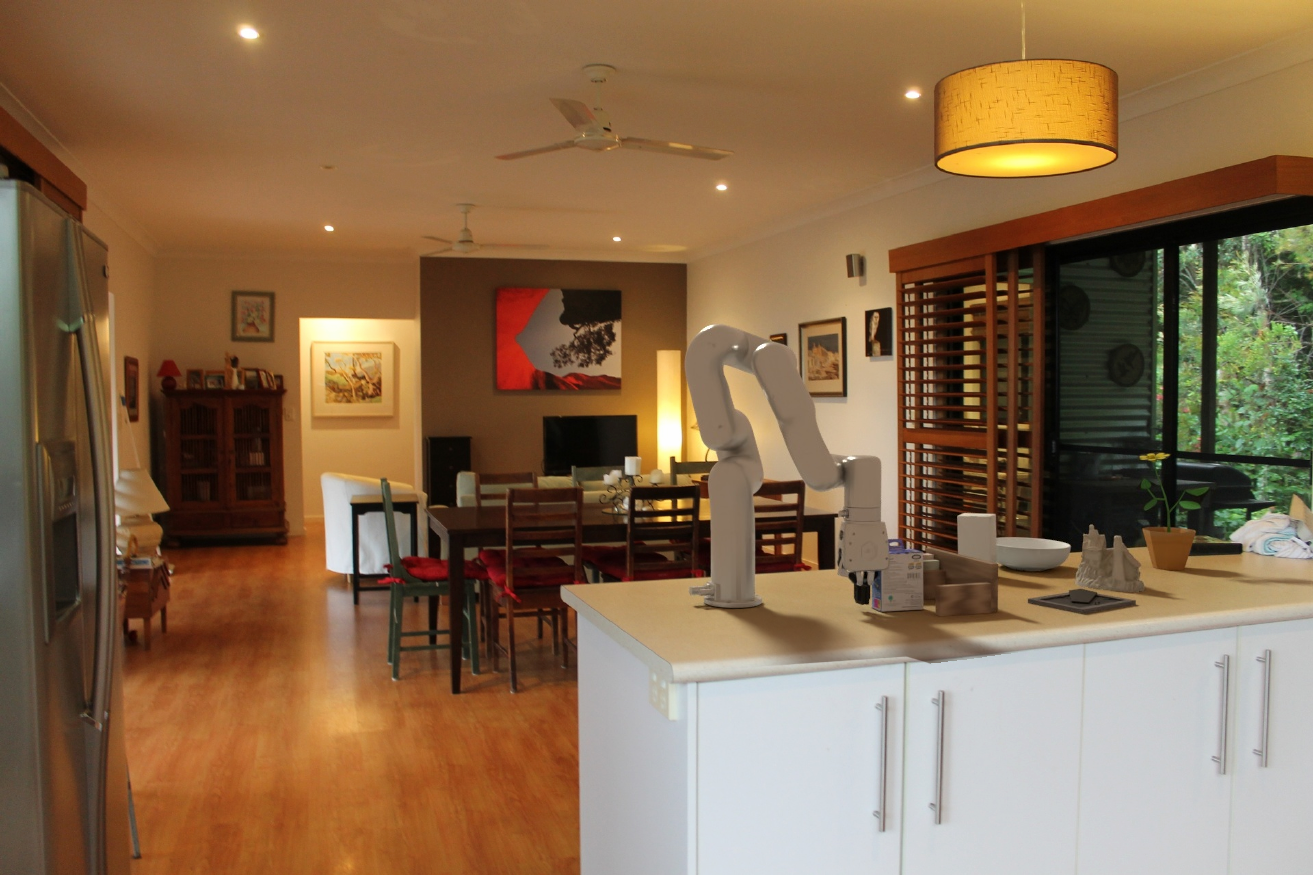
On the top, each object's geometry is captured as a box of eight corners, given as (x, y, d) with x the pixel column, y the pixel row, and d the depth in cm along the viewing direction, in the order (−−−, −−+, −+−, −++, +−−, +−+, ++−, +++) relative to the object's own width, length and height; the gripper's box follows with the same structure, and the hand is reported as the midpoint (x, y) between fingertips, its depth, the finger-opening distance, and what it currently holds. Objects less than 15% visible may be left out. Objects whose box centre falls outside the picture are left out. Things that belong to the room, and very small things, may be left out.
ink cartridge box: (912, 605, 210) (912, 537, 210) (925, 610, 205) (925, 540, 205) (869, 607, 208) (869, 539, 208) (881, 612, 203) (881, 542, 202)
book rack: (939, 616, 199) (940, 567, 199) (878, 594, 222) (879, 550, 222) (997, 612, 203) (998, 563, 203) (931, 590, 226) (932, 547, 226)
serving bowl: (1047, 578, 243) (1047, 550, 243) (970, 568, 259) (970, 542, 258) (1084, 568, 257) (1085, 542, 257) (1009, 559, 273) (1009, 534, 272)
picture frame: (1080, 597, 222) (1027, 605, 212) (1080, 588, 222) (1027, 596, 212) (1135, 607, 210) (1082, 617, 201) (1135, 598, 210) (1082, 607, 201)
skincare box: (997, 576, 246) (998, 513, 246) (991, 580, 240) (991, 516, 240) (963, 573, 251) (964, 512, 250) (956, 576, 245) (956, 514, 244)
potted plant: (1115, 563, 265) (1116, 452, 264) (1180, 562, 267) (1181, 451, 266) (1155, 574, 248) (1157, 455, 247) (1225, 573, 250) (1227, 454, 249)
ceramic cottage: (1133, 593, 222) (1133, 526, 223) (1062, 586, 234) (1062, 523, 235) (1160, 589, 233) (1160, 525, 233) (1091, 583, 245) (1091, 522, 245)
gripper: (837, 518, 198) (837, 609, 198) (904, 516, 202) (903, 605, 203) (821, 514, 205) (821, 602, 206) (885, 512, 209) (885, 598, 210)
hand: (862, 603), depth 204 cm, fingers closed
